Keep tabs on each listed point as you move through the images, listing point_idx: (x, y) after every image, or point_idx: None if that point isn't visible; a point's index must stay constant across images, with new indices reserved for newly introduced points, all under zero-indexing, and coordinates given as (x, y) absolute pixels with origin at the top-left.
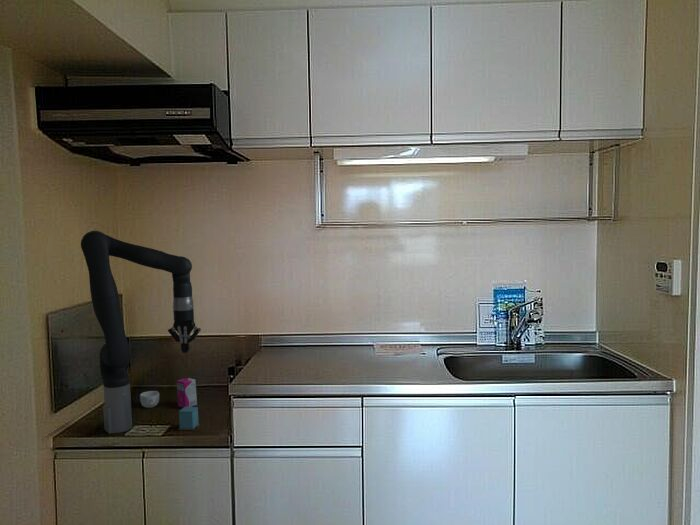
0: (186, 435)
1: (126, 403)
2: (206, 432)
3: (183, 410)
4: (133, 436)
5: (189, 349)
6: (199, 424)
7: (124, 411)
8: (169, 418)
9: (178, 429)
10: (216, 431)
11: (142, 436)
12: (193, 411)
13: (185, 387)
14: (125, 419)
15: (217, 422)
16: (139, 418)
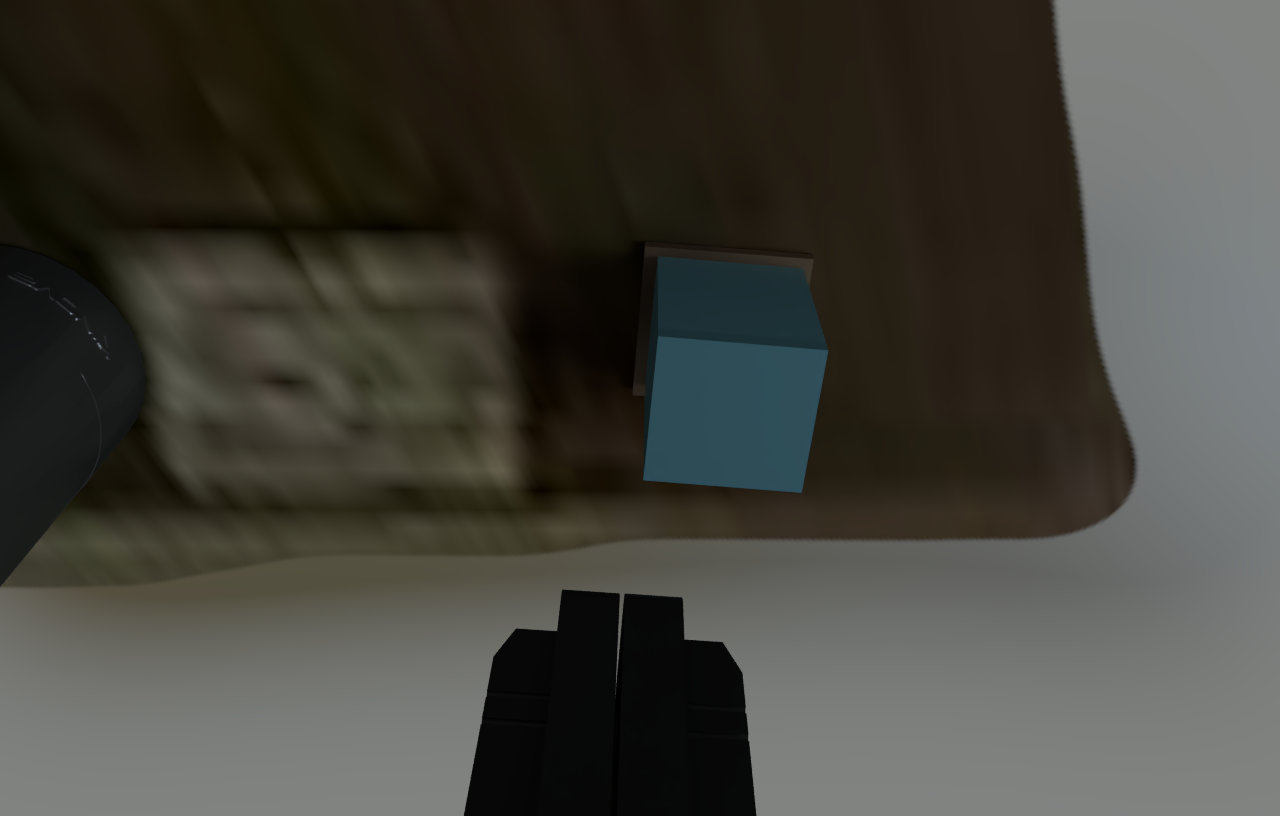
0: (753, 498)
1: (6, 563)
2: (923, 437)
3: (687, 458)
4: (281, 514)
5: (738, 667)
6: (811, 262)
7: (41, 536)
8: (389, 48)
9: (635, 391)
10: (1016, 416)
11: (362, 515)
12: (805, 456)
13: None
14: (85, 479)
15: (994, 183)
16: (21, 46)
